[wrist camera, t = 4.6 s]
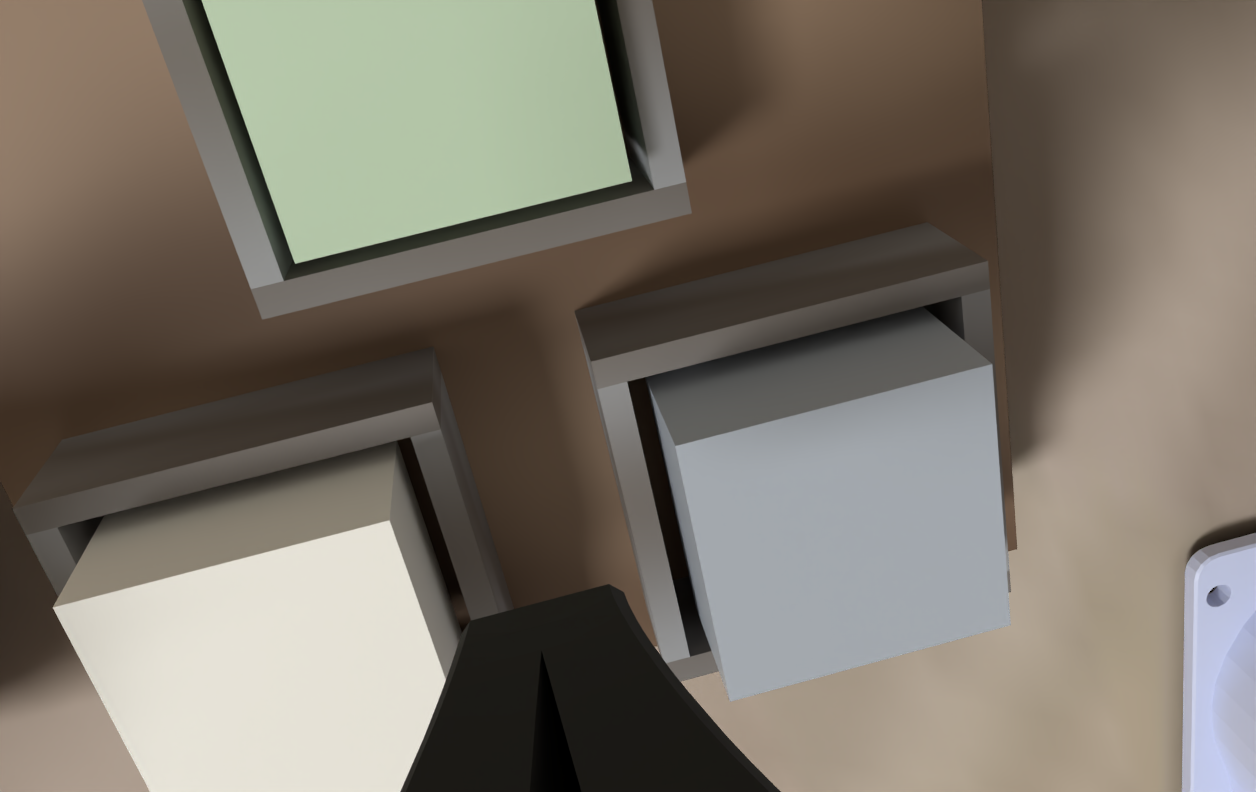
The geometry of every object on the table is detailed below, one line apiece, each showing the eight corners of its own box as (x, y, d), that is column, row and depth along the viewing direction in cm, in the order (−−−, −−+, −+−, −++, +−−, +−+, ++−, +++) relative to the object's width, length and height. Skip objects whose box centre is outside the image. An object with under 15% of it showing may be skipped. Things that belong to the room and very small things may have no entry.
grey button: (944, 542, 17) (1010, 625, 15) (695, 607, 17) (730, 701, 15) (921, 305, 15) (991, 363, 13) (644, 375, 15) (675, 446, 13)
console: (967, 493, 21) (1077, 615, 17) (183, 701, 20) (125, 876, 16) (892, -383, 15) (1036, -477, 11) (-228, -137, 14) (-461, -153, 10)
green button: (607, 145, 15) (632, 180, 13) (315, 215, 15) (295, 263, 13) (535, -184, 13) (552, -201, 11) (205, -109, 13) (161, -113, 11)
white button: (473, 668, 17) (477, 770, 15) (213, 737, 16) (181, 852, 14) (396, 439, 15) (389, 520, 13) (105, 514, 15) (52, 607, 13)
